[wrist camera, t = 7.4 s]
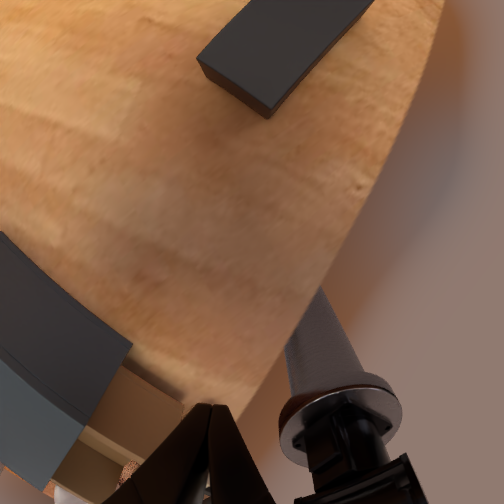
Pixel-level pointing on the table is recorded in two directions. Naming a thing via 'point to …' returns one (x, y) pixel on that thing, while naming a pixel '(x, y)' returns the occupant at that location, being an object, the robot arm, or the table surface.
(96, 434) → the drawer
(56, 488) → the figurine
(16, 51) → the table surface
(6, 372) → the cabinet
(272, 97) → the black rectangular block
